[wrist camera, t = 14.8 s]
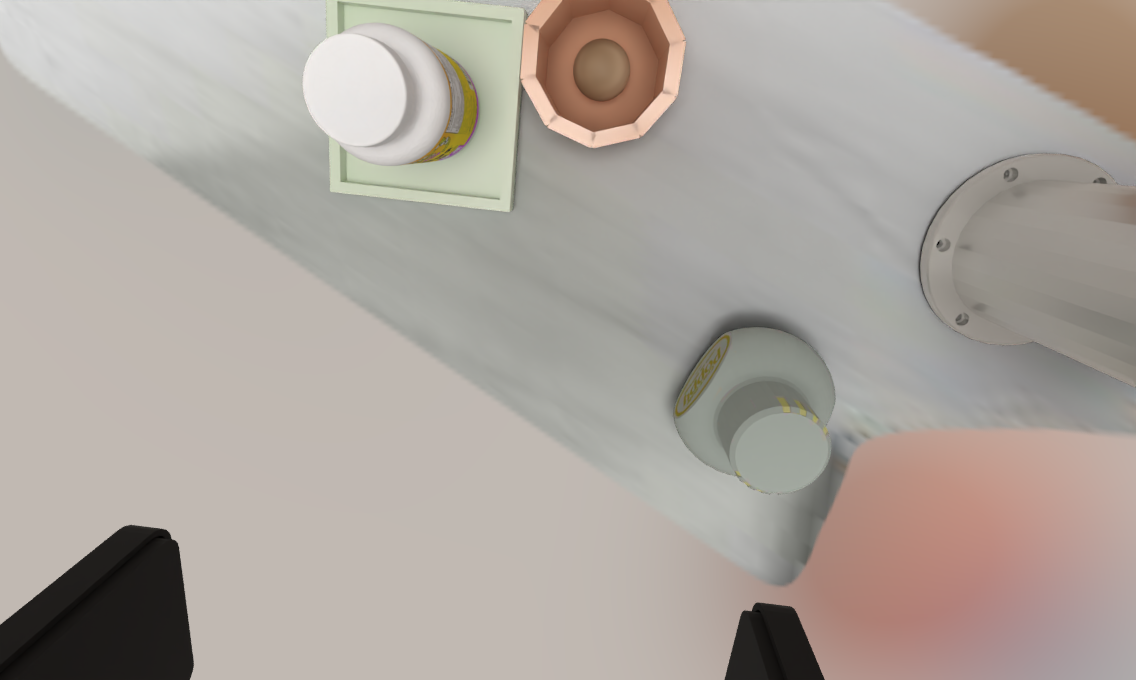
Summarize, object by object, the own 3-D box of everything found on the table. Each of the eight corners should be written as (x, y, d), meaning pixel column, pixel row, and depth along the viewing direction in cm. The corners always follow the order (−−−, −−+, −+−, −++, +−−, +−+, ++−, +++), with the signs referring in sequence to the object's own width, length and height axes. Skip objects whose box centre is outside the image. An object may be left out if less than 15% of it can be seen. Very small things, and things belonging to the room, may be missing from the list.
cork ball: (632, 46, 36) (635, 37, 33) (624, 105, 37) (627, 102, 34) (577, 40, 36) (575, 30, 33) (571, 99, 37) (568, 95, 34)
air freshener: (737, 297, 42) (778, 343, 32) (833, 353, 42) (900, 413, 33) (655, 418, 45) (670, 491, 35) (746, 467, 46) (784, 551, 36)
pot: (678, 4, 36) (696, -27, 29) (656, 154, 39) (668, 156, 32) (542, -11, 36) (529, -45, 29) (530, 140, 39) (515, 139, 32)
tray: (527, 13, 36) (524, 8, 35) (512, 209, 40) (509, 212, 39) (336, -7, 37) (325, -14, 35) (340, 189, 41) (330, 191, 39)
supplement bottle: (380, 155, 39) (280, 161, 27) (380, 45, 37) (272, -3, 25) (480, 166, 39) (425, 176, 27) (486, 56, 37) (429, 14, 25)
